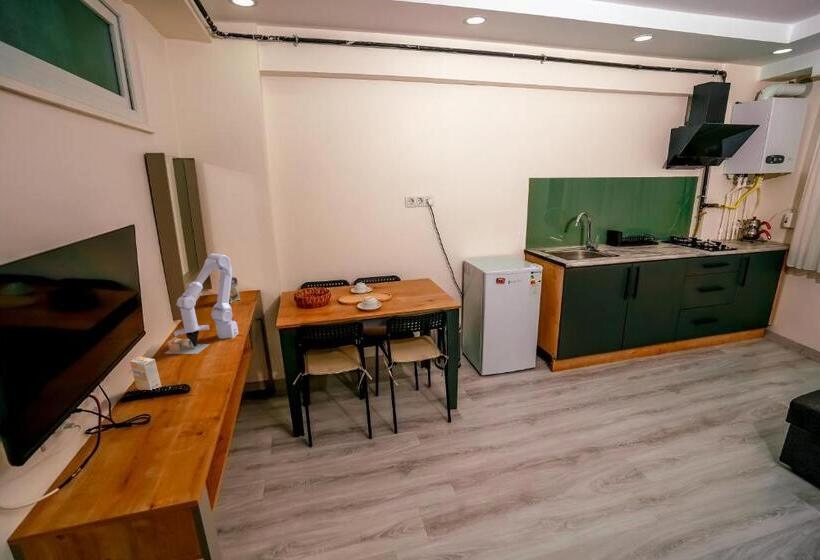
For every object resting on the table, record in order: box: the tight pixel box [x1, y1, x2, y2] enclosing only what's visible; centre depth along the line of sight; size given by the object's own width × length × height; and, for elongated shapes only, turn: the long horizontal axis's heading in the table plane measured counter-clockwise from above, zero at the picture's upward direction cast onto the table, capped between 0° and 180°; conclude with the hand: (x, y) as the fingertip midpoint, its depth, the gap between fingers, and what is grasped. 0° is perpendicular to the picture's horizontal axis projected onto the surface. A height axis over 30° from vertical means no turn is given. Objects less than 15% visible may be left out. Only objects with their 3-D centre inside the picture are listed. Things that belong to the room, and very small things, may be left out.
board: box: [164, 343, 211, 355], centre depth 183 cm, size 17×10×1 cm, turn 86°
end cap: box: [166, 336, 181, 351], centre depth 184 cm, size 6×6×4 cm
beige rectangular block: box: [173, 338, 194, 349], centre depth 184 cm, size 8×3×4 cm, turn 84°
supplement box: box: [129, 355, 162, 391], centre depth 149 cm, size 8×5×13 cm, turn 70°
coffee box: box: [218, 276, 241, 304], centre depth 247 cm, size 9×6×16 cm
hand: (195, 345), depth 183 cm, fingers closed
